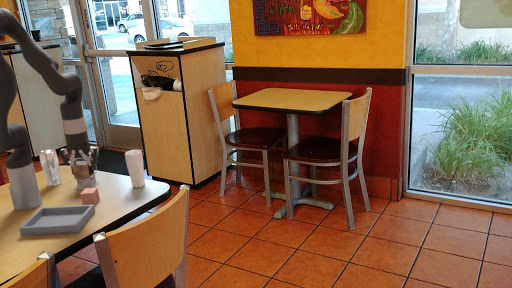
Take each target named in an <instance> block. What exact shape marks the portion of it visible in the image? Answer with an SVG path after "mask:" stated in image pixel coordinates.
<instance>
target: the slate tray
mask: <svg viewBox="0 0 512 288" xmlns="http://www.w3.org/2000/svg"><path fill="white" fill-rule="evenodd" d="M95 213H96V208H95V205H82V204H79V205H63V206H62V205H61V206H44V207H43V206H42V207H40V208H39V209H38V210H37V211H36V212H35V213H34V214H32V216H31V217H29V218H28V219H27V220H26V221H25V222H24V223H23V224H22V225H20V227H19V228H18V229H19V233H20V237H26V236H27V235H31V236H45V235H46V236H48V234H49V235H66V234H79V233H80V232H81V230H82V229H83V228H84V227H85V225H86V224H87V222H89V220H90V219H91V218H92V217H93V216H94V214H95Z"/></svg>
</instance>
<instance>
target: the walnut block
mask: <svg viewBox="0 0 512 288" xmlns="http://www.w3.org/2000/svg"><path fill="white" fill-rule="evenodd" d="M88 166H89V165H88V164H87V162H86V161H85V160H83V161H82V160H76V163H75V164H74V165H73V166H72V168H73V173H74V175H73V177H74V180H76V179H88V178H90V176H91V175H90V174H89V169H88ZM91 177H92V176H91Z"/></svg>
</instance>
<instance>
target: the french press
mask: <svg viewBox="0 0 512 288" xmlns="http://www.w3.org/2000/svg"><path fill="white" fill-rule="evenodd" d="M89 154H90V155H91V156H92V151H91V152H90V151H89ZM77 160H81V161H84V159H83V158H77ZM92 160H93V158H92ZM94 165H95V171H94V173H93V175H91V176H90V178H88V179H75V180H76V185H75V189H77V190H81V191H83V190H84V189H86V188H96V187H97V186H99V184H100V182H99V181H98V180H97V178H96V174H97V170H98V168H97V163H96V164H94Z"/></svg>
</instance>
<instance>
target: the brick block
mask: <svg viewBox="0 0 512 288" xmlns="http://www.w3.org/2000/svg"><path fill="white" fill-rule="evenodd" d="M79 195H80V199H81V205H94V206H96V204H97V203H98V202H99V201H100V200H101V198H100V193H99V188H98V187H93V188H86V189H83V190H81V192H80V194H79Z"/></svg>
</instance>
